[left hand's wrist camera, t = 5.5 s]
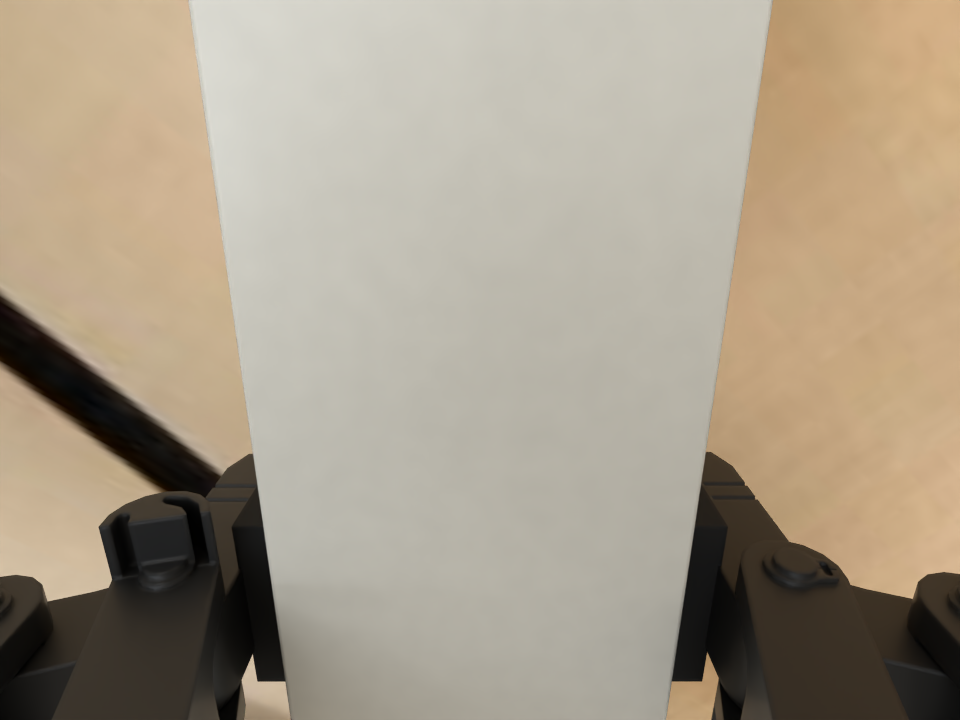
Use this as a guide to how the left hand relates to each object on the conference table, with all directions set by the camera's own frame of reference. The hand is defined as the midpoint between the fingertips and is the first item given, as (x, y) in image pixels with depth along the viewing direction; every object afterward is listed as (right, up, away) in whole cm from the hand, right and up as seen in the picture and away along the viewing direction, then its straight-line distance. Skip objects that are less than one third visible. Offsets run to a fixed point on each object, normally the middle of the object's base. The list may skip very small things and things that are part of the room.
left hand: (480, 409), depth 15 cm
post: (0, +29, -10) cm, 31 cm away
